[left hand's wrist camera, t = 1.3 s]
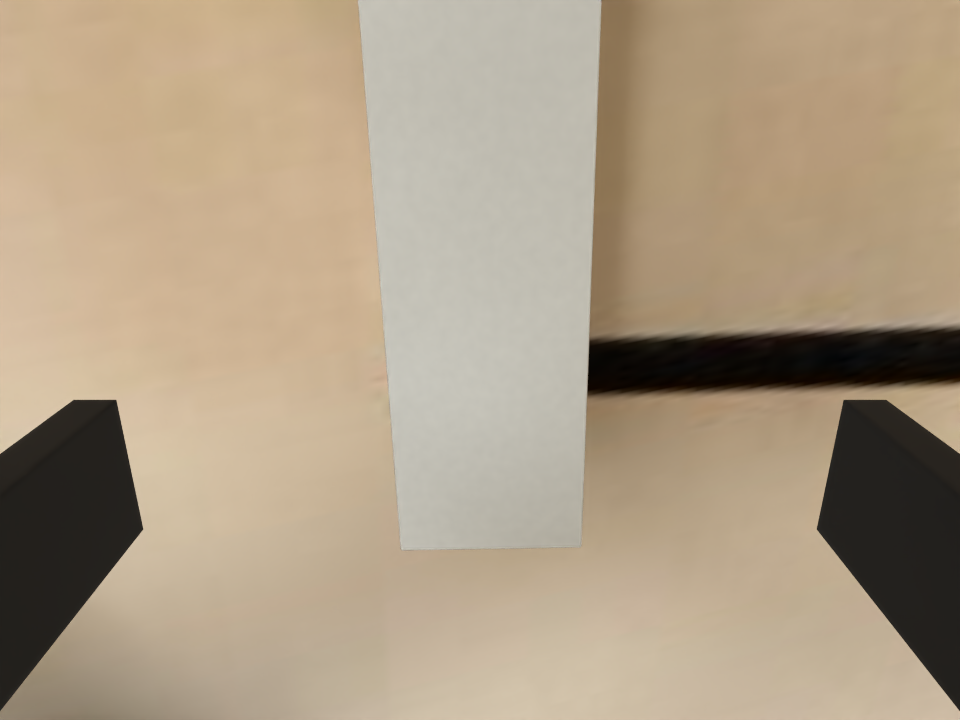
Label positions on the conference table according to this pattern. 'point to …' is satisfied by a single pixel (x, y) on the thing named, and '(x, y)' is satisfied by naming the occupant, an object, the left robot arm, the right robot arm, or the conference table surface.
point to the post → (485, 260)
